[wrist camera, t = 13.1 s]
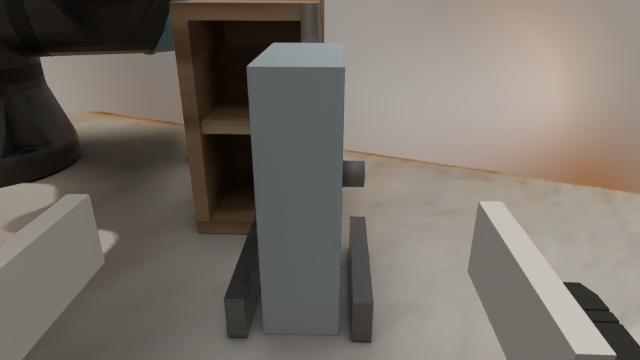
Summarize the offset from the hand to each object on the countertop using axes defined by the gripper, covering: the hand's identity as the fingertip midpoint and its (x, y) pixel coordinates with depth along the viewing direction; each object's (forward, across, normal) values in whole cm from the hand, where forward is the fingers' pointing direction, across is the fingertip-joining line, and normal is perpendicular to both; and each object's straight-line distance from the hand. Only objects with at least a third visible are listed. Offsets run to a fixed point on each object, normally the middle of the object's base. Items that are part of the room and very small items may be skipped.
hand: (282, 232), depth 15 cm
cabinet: (+20, -4, -9) cm, 23 cm away
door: (+9, 0, -9) cm, 13 cm away
